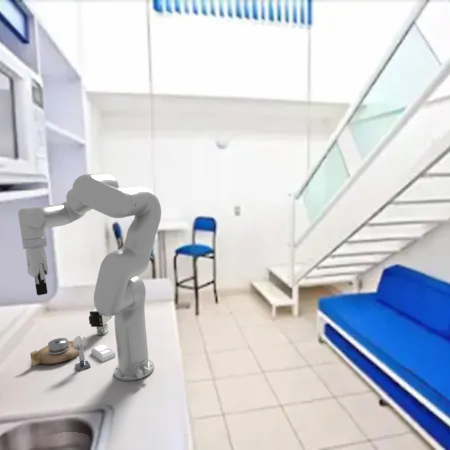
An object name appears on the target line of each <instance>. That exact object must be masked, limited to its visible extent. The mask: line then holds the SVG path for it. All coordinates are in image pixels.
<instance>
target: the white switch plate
mask: <svg viewBox="0 0 450 450" xmlns="http://www.w3.org/2000/svg"><path fill="white" fill-rule="evenodd" d="M90 352H91V354H92V355H93V356H94V357H96V358H97V359H98V360H99V361H101V362H105V361H108V360H111V359H113V358H115V356H116V352H115V351H114V350H112V349H111V348H109V347H108V346H107V345H105V344H104V343H103V344H99V345H97V346H95V347H93V348H92V349H90Z"/></svg>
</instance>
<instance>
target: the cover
mask: <svg viewBox="0 0 450 450" xmlns="http://www.w3.org/2000/svg"><path fill="white" fill-rule="evenodd" d="M68 341H69V340H68V339H67V338H66V337H59V338H55V339H51V340H50V341H49V342H48V343H47V346H48V347H49V350H48V352H49V354H50V355H60V354H63V353H65V352H67V351H68V350H69V346H68Z"/></svg>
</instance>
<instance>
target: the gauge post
mask: <svg viewBox="0 0 450 450" xmlns="http://www.w3.org/2000/svg"><path fill="white" fill-rule="evenodd" d="M72 341H73V346H74V348H75V349H77V350H78V351H79V354H78V357H79V362H78V363H75V364H74V366H75V369H76V370H77V372H80V371H84V370H86V369H89V368H91V364H90V363H89V361H88V360H85V352H84V351H85V350H84V349H85V348H86V347H87V345H88V339H87V338H86V337H85V336H84V335H78V336H77V337H75V338H74V339H73V340H72Z"/></svg>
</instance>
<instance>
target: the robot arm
mask: <svg viewBox="0 0 450 450" xmlns="http://www.w3.org/2000/svg"><path fill="white" fill-rule="evenodd" d="M118 182H119V181H118V180H117V179H116V178H115V177H114V176H112V175H110V174H107V173H87V174H86V173H85V174H82V175H80V176H78V177H76V179H74V182H73V184H72V188H71V189H69V190H68V191H67V192H66V196H65V199H66V201H65V202H62V203H59V204H52V205H51V204H50V205H44V206H43V205H42V206H31V207H23V208H20V209H19V210H18V212H17V217H18V222H19V229H20V235H21V241H22V242H21V243H22V249H23V250H25V256H26V257H25V258H26V265H27V266H26V268H27V274H28V275H29V276H31V277H32V278H34V283H35V285H34V286H35V291H36V295H37V296H42V295H47V294H48V287H47V285H48V284H47V280H46V276H47V275H48V274H49V266H48V261H47V254H46V253H47V252H46V248H45V247H47V246H48V240H47V234H46V230H47V229H51V228H57V227H62V226H67V225H68V224H69V225H70V224H71V223H73V222H75V221H77V220H79V219H81V218H83V217H84V216H85V214H86V213H88V212H90V211H91V210H94V211H96V212H99V213H101V214H103V215H105V216H107V217H110V218H114V219H125V218H127V217H133V216H134V218H133V219H132V222H131V223H130V225H129V226H128V229H127V232H126V236H125V240H124V243H123V246H122V247H120V249H119V248H118V249H115V250H113V251H111V252H108V254H106V256H105V257H104V258H103V260H102V261H101V263H100V266H99V267H100V268H99V270H98V274H97V279H96V282H95V283H96V284H95V289H94V293H93V304H94V308H96V310H97V311H98V312H99V313H100V314H101V315H103V316H106V317H110V316H111V317H113V316H114V320H113V321H114V332H115V341H116V343H115V344H116V353H117V362H118V364H117V365H116V366H115V368H114V371H113V372H114V377H115V378H116V379H118V380H120V381H125V382H126V381H128V382H130V381H131V382H132V381H137V379H138V380H141V379H143V377H144V378H145V376H146V377H148V376H149V375H150V374H151V373H152V372H153V371H154V369H155V364H154V361H152V360H151V359H149V352H148V340H147V339H148V338H147V328H146V314H145V313H146V312H145V310H146V309H145V308H146V307H145V305H146V295H147V294H146V292H147V291H146V290H147V289H146V286H145V283H144V281H143V280H142V279H141V277H139V276H141V275H142V274H144V273H145V272H146V271H147V270H148V267H149V263H150V260H151V256H152V253H153V248H154V245H155V239H156V236H157V233H158V229H159V226H160V222H161V217H162V207H161V202H160V200H159V198H158V197H157V195H156V193H154V192H153V191H152V190H151V189H149V188H147V187H143V186H128V187H120V186H119V183H118Z"/></svg>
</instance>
